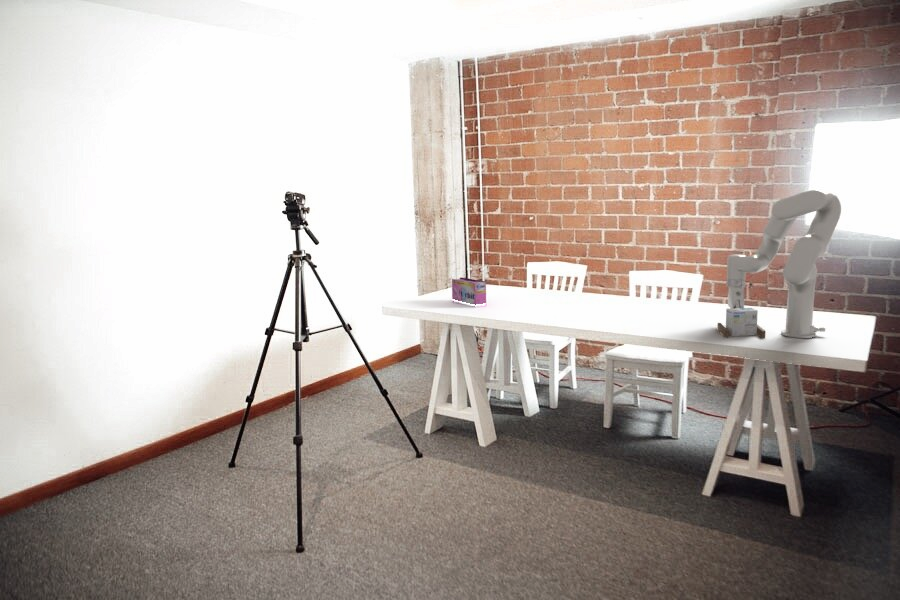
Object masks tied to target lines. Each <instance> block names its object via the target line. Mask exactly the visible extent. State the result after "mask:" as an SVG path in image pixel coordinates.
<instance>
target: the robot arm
mask: <svg viewBox="0 0 900 600" xmlns="http://www.w3.org/2000/svg"><path fill="white" fill-rule="evenodd" d="M814 212H815V215H814V217H813V219H812V220H811V223H810V226H809V227H808V230H807V232H806V234H805V235H804V236H802V237H800V238H798V240H796V242H795V243H794V245H793V247H792V249H791V252H790V254H789V255H788V258H787V260H786V263H785V265H784V266H783V267H784V268H783V270H782V271H783V272H782V276H783V279H784V281H785V282H786V283H788V287H787V288H788V290H787V300H786V301H787V302H786V318H785V320H786V321H785V329H782V330H781V332H780V334H781V335H783V336H784V337H787V338H792V339H793V338H794V339H795V338H796V339H812V337H813V338H815V337H816V336H817V332H823V333H824V332H826V326H819V325H818V326H817V325H814V324H813V318H814V302H815V291H816V284H817V279H818V268H817V266H816V262H817V260H818V258H819V257H820V256H822V255H824V254H825V252H826V250H827V248H828V245H829V243H830V241H831V238H832V236H833V235H834V232H835V229H836V227H837V226H838V222H839V220H840V218H841V217H840V216H841V214H842V213H841V212H842V205H841V202H840V198H839V197H838V196H837V195H836V194H835V193H834V192H833V191H832V190H830V189H828V188H824V187H822V188H820V187H819V188H818V187H817V188H811V189H808V190H804V191H803V192H799V193H796V194H794V195H791V196H788V197H785V198H781V199H778V200H777V201H776V202H775V203H774V204H773V205H772V208H771V214H772V215H771V216H770V218H769V220H768V221H767V223H766V225H765V227H764V228H763V230H762V235H763V236H762V237H763V238H762V242H761V244H759V247H758V249H757V251H756V252H755V254H752V255H745V254H737V253H735V254H730V255H728V256H727V262H726V263H727V264H726V284H725V285H726V287H727V288H728V292H727V306H728V307H729V309H733V308H745V287H746V279H747V278H746V277H747V275H746V274H748V273H749V274H758V273H760V272H762V271H764V270H766V269H767V268H768V267H769V266H770V265H771V264H772V262H773V260H775V257H776V256H777V254H778V252H779V250H780V248H781V246H782V243H783V241H784V239H785V237H786V235H787V234H788V233H789V231H790V229H791V228H792V226H793V224H794V223H795V221H796V220H797V218H798V217H801V216H804V215H807V214H810V213H814Z"/></svg>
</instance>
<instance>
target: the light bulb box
mask: <svg viewBox="0 0 900 600" xmlns="http://www.w3.org/2000/svg"><path fill="white" fill-rule="evenodd" d="M725 309H726V310H725V311H726V312H725V313H726V314H725V328H726V329H727V330H728V336H731V337H741V336H742V337H746V336H758V334H757V325H758V313H759V311H758V309H755V308H752V307H744V308H733V309H730V308H725Z"/></svg>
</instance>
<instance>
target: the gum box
mask: <svg viewBox="0 0 900 600" xmlns="http://www.w3.org/2000/svg"><path fill="white" fill-rule="evenodd" d="M451 298H452V299H455V300H458V301H462V302H466V303H470V304H475V305H476V304H483V303H486V304H487V281H485V280H478V279H474V278H467V277H459V278H451ZM452 299H451V300H452Z"/></svg>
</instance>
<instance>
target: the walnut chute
mask: <svg viewBox="0 0 900 600" xmlns="http://www.w3.org/2000/svg"><path fill="white" fill-rule="evenodd" d="M716 330H717V331H718V332H719V334H721V335H722V336H723V337H724V338H725V339H728V338H729V334H728V330H727V329H726V326H725V325H723V323H721V322H717V329H716ZM757 336H759V338H761V339H766V330H765V329H764V328H763V327H761V326H760V325H759V324H757Z"/></svg>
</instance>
